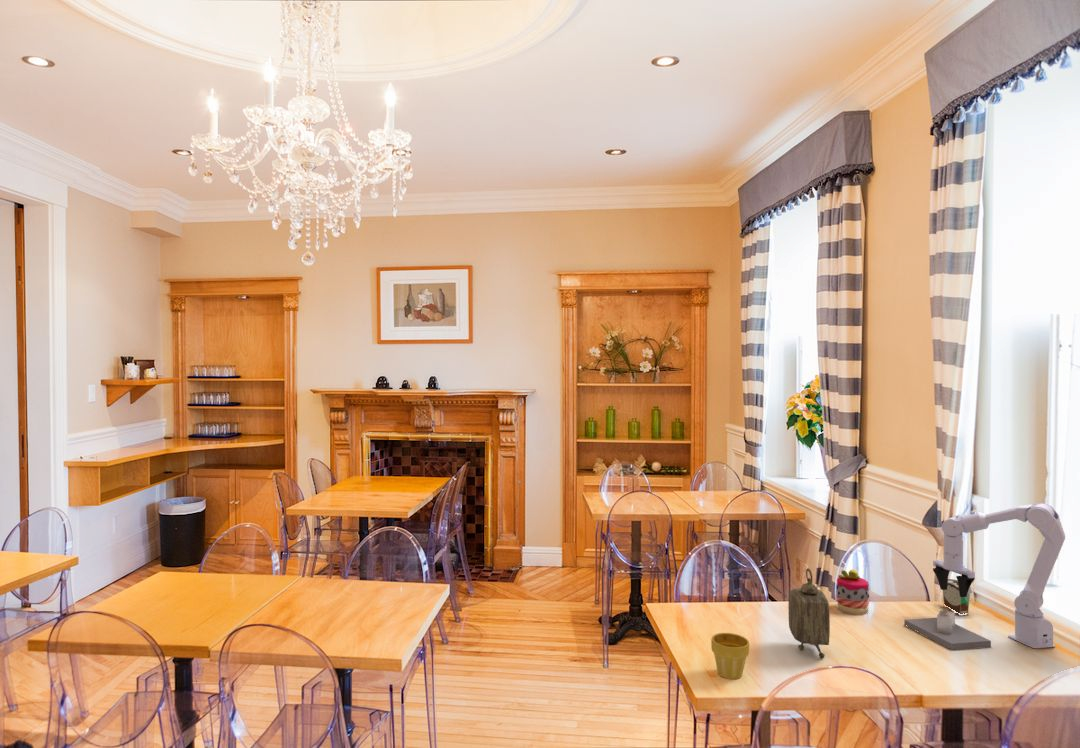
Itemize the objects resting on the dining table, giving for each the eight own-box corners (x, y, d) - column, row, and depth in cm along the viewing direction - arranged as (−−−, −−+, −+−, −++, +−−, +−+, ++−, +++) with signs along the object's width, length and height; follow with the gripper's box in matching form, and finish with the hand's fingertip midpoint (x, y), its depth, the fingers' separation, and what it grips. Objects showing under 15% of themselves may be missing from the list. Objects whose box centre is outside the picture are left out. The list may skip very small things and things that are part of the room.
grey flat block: (990, 647, 200) (990, 640, 200) (951, 650, 198) (951, 643, 198) (940, 623, 220) (940, 617, 220) (904, 625, 218) (904, 619, 218)
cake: (836, 603, 239) (836, 563, 239) (868, 607, 235) (868, 566, 235) (836, 612, 230) (836, 570, 230) (869, 617, 225) (869, 574, 225)
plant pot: (755, 682, 177) (755, 646, 177) (718, 683, 176) (718, 647, 176) (740, 665, 187) (740, 631, 187) (706, 666, 186) (706, 632, 186)
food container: (980, 617, 225) (980, 589, 226) (962, 617, 226) (962, 588, 226) (958, 605, 238) (958, 578, 238) (941, 604, 238) (941, 577, 238)
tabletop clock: (829, 661, 190) (829, 577, 190) (797, 659, 191) (797, 575, 192) (817, 642, 204) (817, 563, 204) (787, 639, 206) (787, 561, 206)
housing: (951, 634, 205) (951, 618, 205) (937, 631, 208) (937, 615, 208) (955, 627, 211) (955, 612, 211) (941, 624, 214) (941, 609, 214)
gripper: (982, 558, 214) (982, 599, 214) (944, 547, 228) (944, 585, 228) (965, 559, 212) (965, 600, 212) (928, 548, 226) (928, 587, 226)
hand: (953, 593), depth 220 cm, fingers open, 7 cm apart
